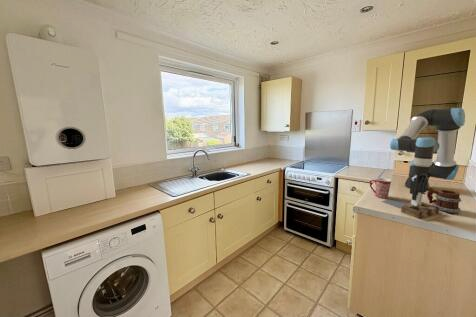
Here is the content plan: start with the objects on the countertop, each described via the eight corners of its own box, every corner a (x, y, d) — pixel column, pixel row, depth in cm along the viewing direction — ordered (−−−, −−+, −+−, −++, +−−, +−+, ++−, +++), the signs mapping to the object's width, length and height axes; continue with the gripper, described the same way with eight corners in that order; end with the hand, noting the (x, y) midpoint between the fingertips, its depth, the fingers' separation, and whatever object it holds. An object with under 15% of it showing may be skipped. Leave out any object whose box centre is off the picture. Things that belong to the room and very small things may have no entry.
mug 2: (462, 216, 110) (460, 190, 110) (427, 212, 121) (425, 189, 120) (462, 210, 118) (460, 186, 117) (429, 207, 129) (427, 184, 128)
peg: (413, 210, 116) (416, 190, 114) (419, 212, 114) (422, 192, 112) (410, 210, 116) (413, 191, 113) (416, 213, 113) (419, 193, 111)
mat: (394, 198, 138) (394, 198, 138) (414, 205, 127) (414, 204, 127) (380, 201, 134) (380, 201, 134) (400, 208, 123) (400, 208, 123)
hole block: (419, 207, 124) (420, 201, 123) (438, 213, 115) (439, 207, 114) (400, 212, 118) (401, 206, 117) (418, 219, 109) (419, 212, 109)
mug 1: (390, 197, 141) (393, 179, 139) (387, 200, 135) (389, 182, 133) (370, 192, 150) (372, 175, 148) (366, 195, 144) (368, 178, 142)
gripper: (422, 162, 116) (417, 200, 120) (405, 165, 110) (399, 204, 115) (439, 165, 109) (432, 204, 113) (421, 168, 103) (414, 209, 108)
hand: (415, 204), depth 114 cm, fingers closed on peg, 3 cm apart
